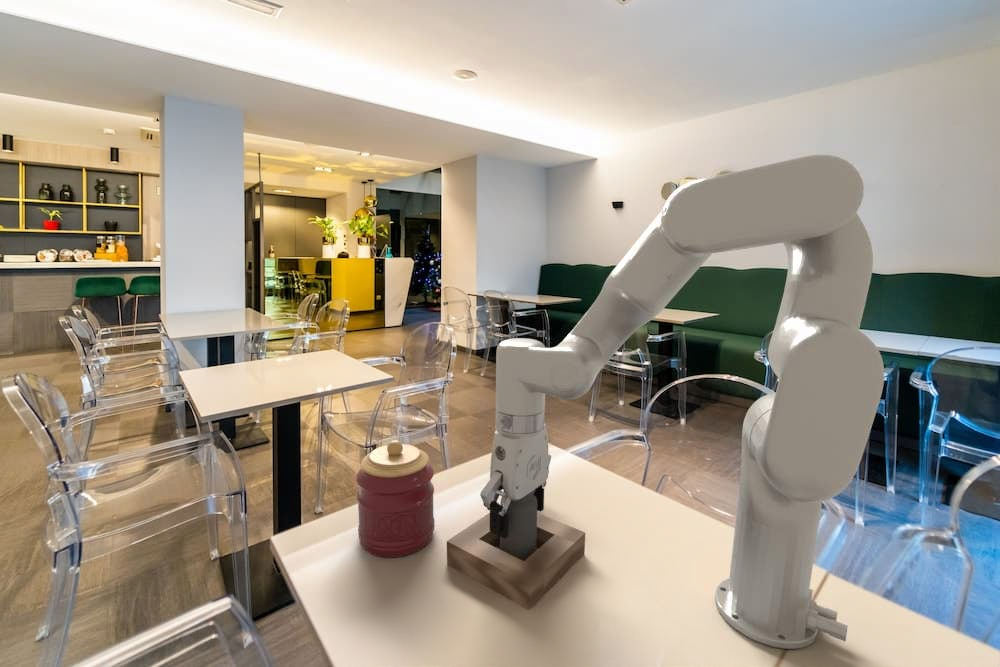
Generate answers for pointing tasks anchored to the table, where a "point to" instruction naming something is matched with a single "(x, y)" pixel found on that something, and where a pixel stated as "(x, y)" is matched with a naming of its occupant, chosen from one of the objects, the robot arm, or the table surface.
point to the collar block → (510, 574)
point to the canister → (395, 500)
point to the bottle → (521, 527)
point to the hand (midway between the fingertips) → (517, 520)
